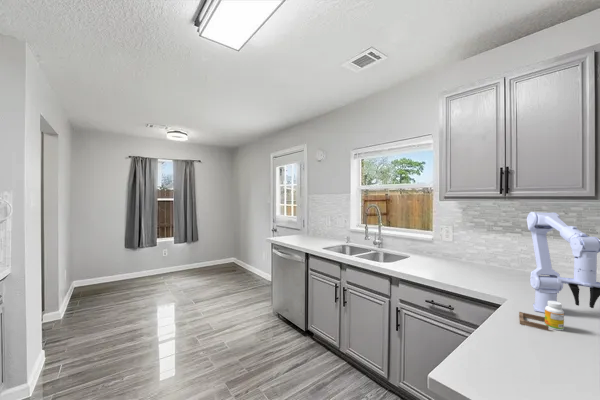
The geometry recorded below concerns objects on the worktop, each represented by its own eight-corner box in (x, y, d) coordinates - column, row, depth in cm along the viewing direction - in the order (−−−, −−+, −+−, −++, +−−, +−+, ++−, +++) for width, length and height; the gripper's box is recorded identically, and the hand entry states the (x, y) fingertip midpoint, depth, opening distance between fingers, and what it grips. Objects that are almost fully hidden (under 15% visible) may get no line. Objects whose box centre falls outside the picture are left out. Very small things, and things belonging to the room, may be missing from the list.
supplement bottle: (544, 322, 108) (544, 298, 108) (562, 327, 104) (563, 302, 104) (545, 327, 104) (545, 302, 104) (564, 332, 100) (565, 306, 100)
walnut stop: (519, 315, 115) (519, 311, 114) (545, 321, 109) (545, 317, 109) (519, 324, 106) (519, 320, 106) (548, 330, 101) (548, 326, 101)
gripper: (559, 268, 100) (558, 304, 100) (618, 275, 91) (617, 315, 91) (556, 264, 106) (556, 298, 106) (612, 271, 97) (611, 308, 97)
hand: (584, 306), depth 99 cm, fingers open, 3 cm apart
